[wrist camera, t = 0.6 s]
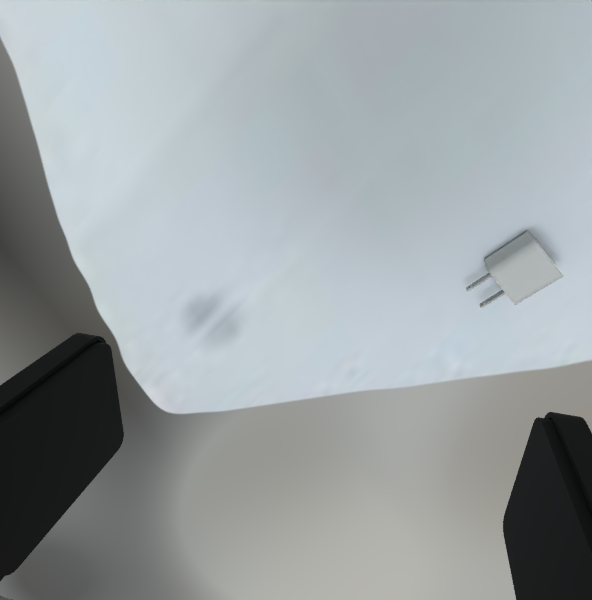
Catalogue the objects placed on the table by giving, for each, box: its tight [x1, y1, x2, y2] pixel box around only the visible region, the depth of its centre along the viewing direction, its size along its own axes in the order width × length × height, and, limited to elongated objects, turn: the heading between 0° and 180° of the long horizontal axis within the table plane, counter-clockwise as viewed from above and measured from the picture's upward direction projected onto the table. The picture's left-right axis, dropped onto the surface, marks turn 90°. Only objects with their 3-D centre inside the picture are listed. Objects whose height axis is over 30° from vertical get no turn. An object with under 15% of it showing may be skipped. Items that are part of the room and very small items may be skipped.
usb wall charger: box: [466, 231, 563, 308], centre depth 40 cm, size 4×7×4 cm, turn 133°
